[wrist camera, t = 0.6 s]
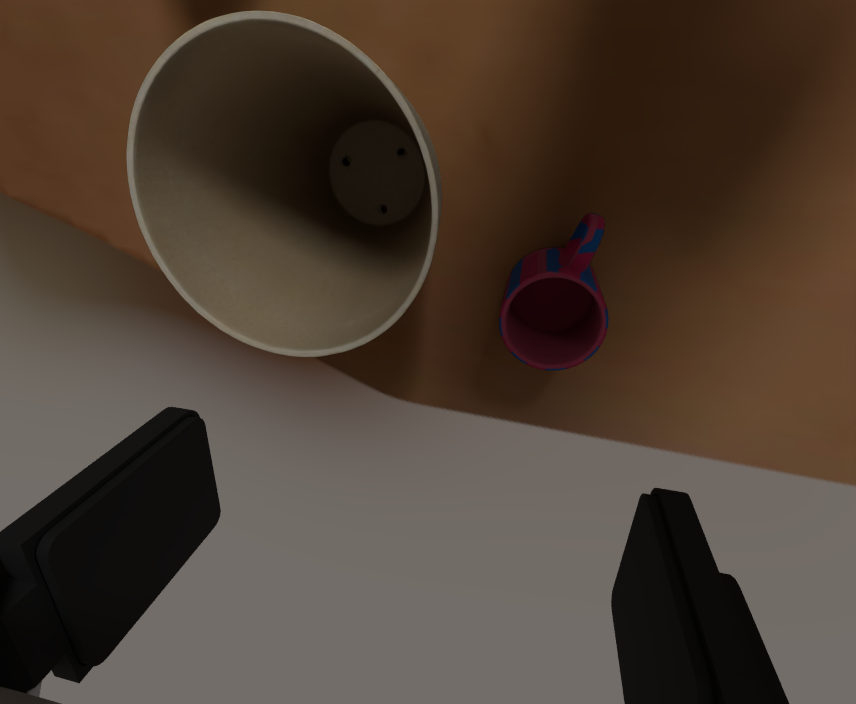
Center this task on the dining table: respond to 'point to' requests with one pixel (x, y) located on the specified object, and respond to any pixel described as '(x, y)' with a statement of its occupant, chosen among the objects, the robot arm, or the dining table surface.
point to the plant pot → (283, 183)
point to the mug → (556, 303)
